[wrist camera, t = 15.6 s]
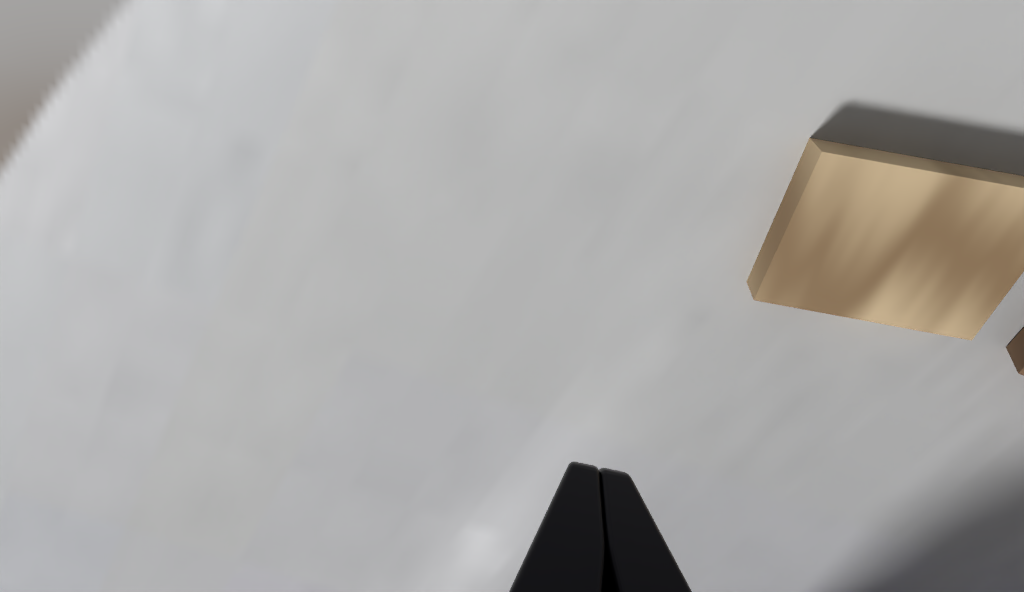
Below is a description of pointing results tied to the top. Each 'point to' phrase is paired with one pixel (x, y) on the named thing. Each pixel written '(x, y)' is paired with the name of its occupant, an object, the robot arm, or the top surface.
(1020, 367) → the domino
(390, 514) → the top surface
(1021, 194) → the oak domino
